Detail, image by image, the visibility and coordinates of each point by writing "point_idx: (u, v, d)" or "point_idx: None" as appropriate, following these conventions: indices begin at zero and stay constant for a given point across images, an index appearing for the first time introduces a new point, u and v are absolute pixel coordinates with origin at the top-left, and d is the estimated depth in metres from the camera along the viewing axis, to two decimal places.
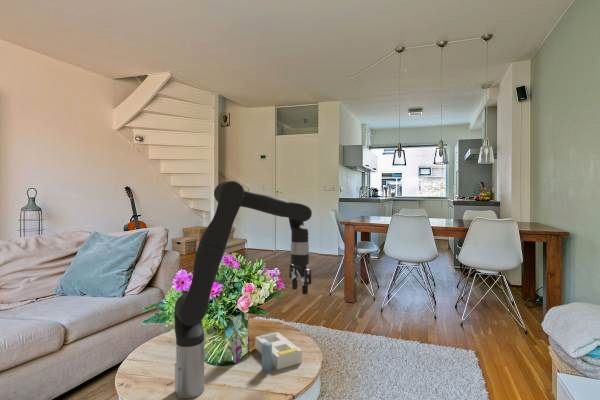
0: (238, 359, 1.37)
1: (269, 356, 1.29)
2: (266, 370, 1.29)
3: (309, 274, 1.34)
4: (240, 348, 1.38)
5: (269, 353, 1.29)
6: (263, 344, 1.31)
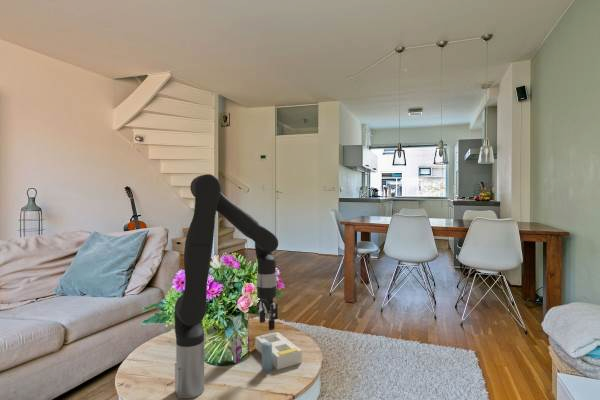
0: (238, 359, 1.37)
1: (269, 356, 1.29)
2: (266, 370, 1.29)
3: (275, 309, 1.25)
4: (240, 348, 1.38)
5: (269, 353, 1.29)
6: (263, 344, 1.31)
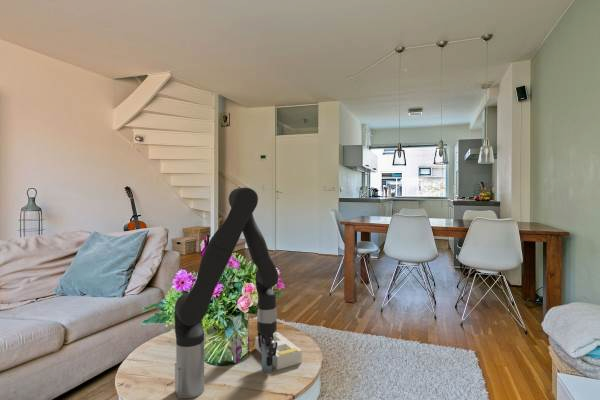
0: (238, 359, 1.37)
1: None
2: (266, 370, 1.29)
3: (275, 348, 1.26)
4: (240, 348, 1.38)
5: None
6: (263, 344, 1.31)
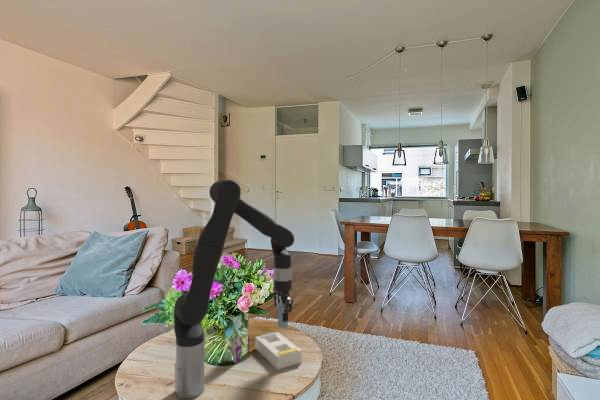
0: (238, 359, 1.37)
1: None
2: (282, 326, 1.37)
3: (290, 304, 1.34)
4: (240, 348, 1.38)
5: None
6: (279, 302, 1.39)
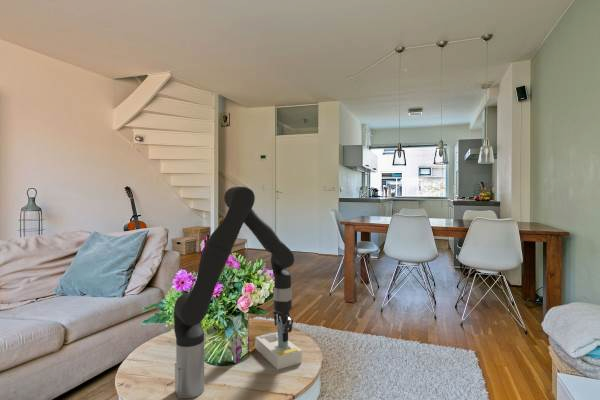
0: (238, 359, 1.37)
1: None
2: (282, 346, 1.37)
3: (291, 324, 1.34)
4: (240, 348, 1.38)
5: None
6: (279, 322, 1.39)
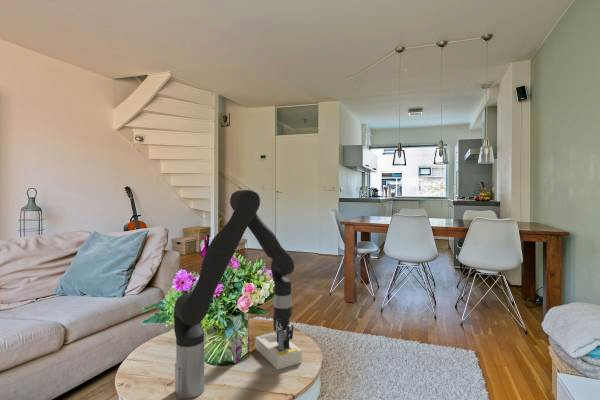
0: (238, 359, 1.37)
1: None
2: None
3: (291, 330, 1.34)
4: (240, 348, 1.38)
5: None
6: (279, 333, 1.39)
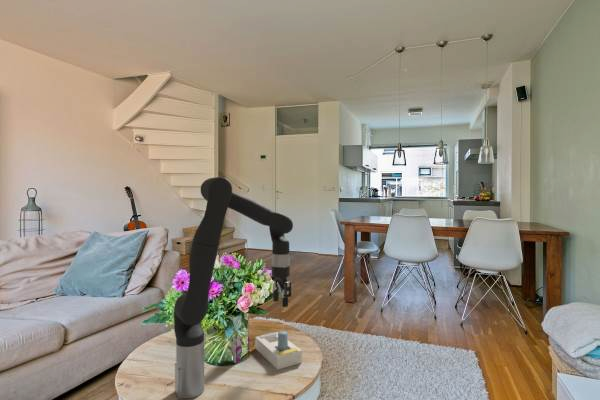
0: (238, 359, 1.37)
1: (285, 344, 1.37)
2: None
3: (289, 287, 1.33)
4: (240, 348, 1.38)
5: (285, 341, 1.37)
6: (279, 333, 1.39)
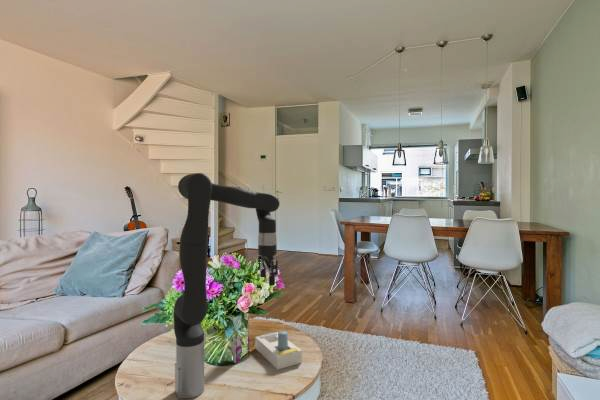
0: (238, 359, 1.37)
1: (285, 344, 1.37)
2: None
3: (275, 265, 1.32)
4: (240, 348, 1.38)
5: (285, 341, 1.37)
6: (279, 333, 1.39)
